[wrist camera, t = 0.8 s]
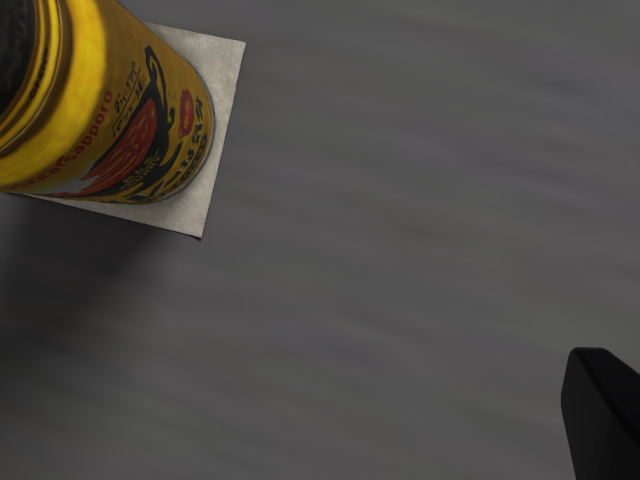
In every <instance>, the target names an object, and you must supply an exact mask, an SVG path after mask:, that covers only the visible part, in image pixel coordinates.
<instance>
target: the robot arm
mask: <svg viewBox="0 0 640 480" xmlns="http://www.w3.org/2000/svg"><path fill="white" fill-rule="evenodd" d="M561 410H562V415H563V420H564V424H565V429H566V434H567V439H568V443H569V448H570V453H571V457H572V462H573V467H574V472H575V476H576V480H640V374H639V373H637V372H636V371H635V370H633V369H632V368H631V367H629V366H628V365H627V364H625V363H624V362H623V361H621V360H620V359H619V358H618V357H616V356H615V355H614V354H612V353H611V352H609V351H608V350H606V349H604V348H590V347H576V348H574V349H573V350H571V352H570V354H569V357H568V361H567V366H566V371H565V376H564V381H563V386H562V391H561Z"/></svg>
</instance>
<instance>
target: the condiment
mask: <svg viewBox="0 0 640 480" xmlns="http://www.w3.org/2000/svg"><path fill="white" fill-rule="evenodd" d="M245 44H246V43H245V42H240V41H236V40H231V39H225V38H220V37H216V36H210V35H205V34H200V33H195V32H191V31H187V30H181V29H176V28H171V27H167V26H162V25H159V24H152V23H148V22H144V21H141V20H140V19H139V18H138V17H137V16H135V15H134V14H133V13H132V12H131V11H130V10H129V9H128V8H126V7H125V6H124V5H123V4H122V3H120V2H119V1H118V0H0V192H1V193H17V194H25V195H29V196H33V197H36V198H41V199H45V200H50V201H54V202H57V203H61V204H65V205H70V206H74V207H78V208H82V209H86V210H91V211H95V212H99V213H103V214H107V215H111V216H116V217H120V218H124V219H128V220H132V221H136V222H140V223H144V224H148V225H153V226H157V227H161V228H165V229H169V230H173V231H177V232H181V233H185V234H189V235H193V236H197V237H202V233H203V229H204V224H205V220H206V216H207V212H208V207H209V205H210V199H211V194H212V190H213V187H214V183H215V179H216V175H217V170H218V166H219V162H220V158H221V153H222V149H223V144H224V139H225V135H226V130H227V126H228V121H229V117H230V113H231V108H232V104H233V99H234V94H235V90H236V82H237V79H238V74H239V70H240V65H241V61H242V57H243V52H244V48H245Z"/></svg>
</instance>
